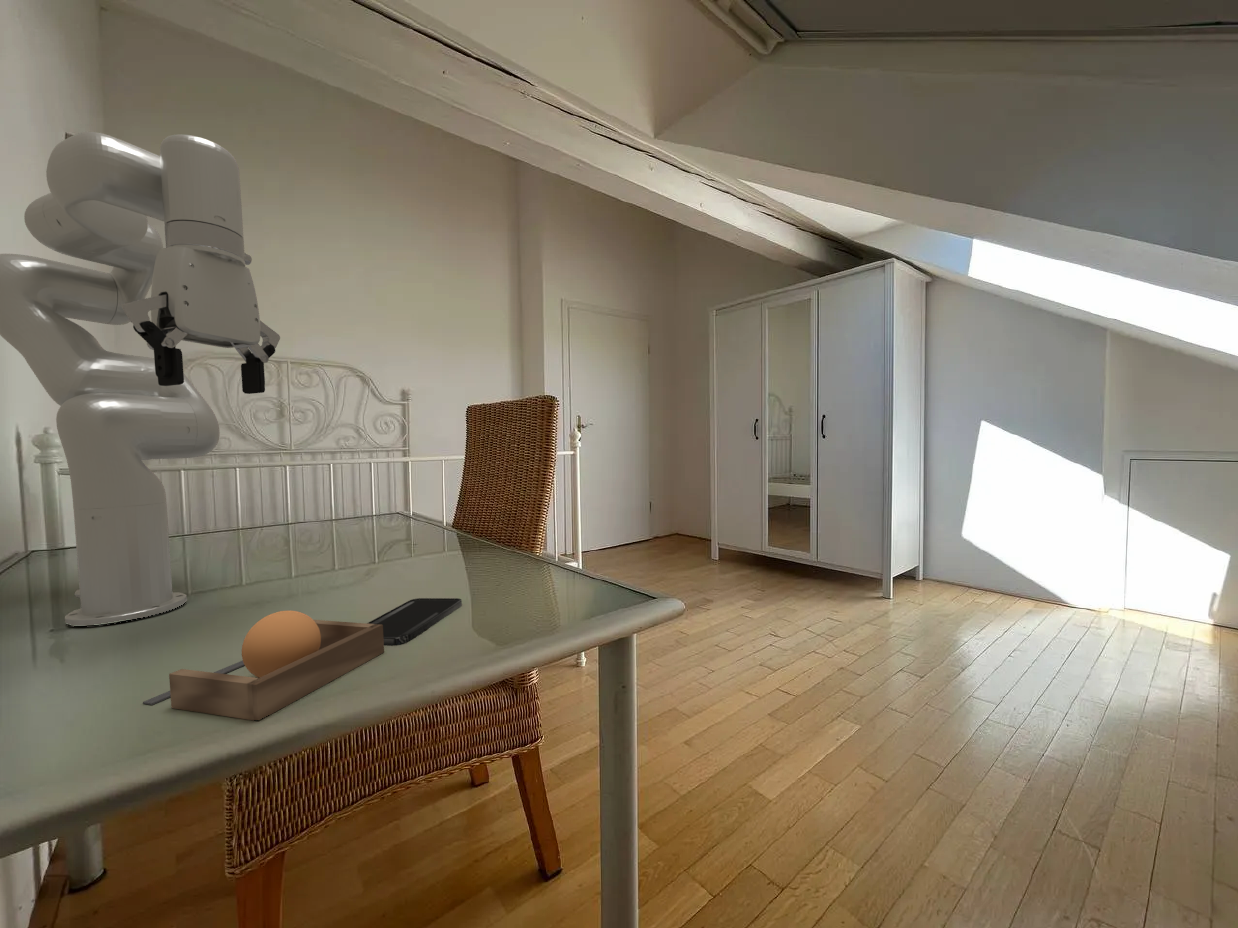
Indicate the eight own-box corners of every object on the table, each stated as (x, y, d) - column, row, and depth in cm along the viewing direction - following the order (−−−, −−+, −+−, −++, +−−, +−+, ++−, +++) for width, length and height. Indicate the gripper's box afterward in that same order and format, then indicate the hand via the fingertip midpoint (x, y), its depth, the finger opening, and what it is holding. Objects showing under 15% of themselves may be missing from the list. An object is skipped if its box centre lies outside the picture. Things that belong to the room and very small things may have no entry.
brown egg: (227, 689, 47) (221, 622, 46) (289, 658, 53) (284, 599, 53) (280, 697, 45) (274, 628, 45) (338, 664, 51) (333, 603, 51)
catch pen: (171, 707, 44) (169, 673, 44) (311, 645, 57) (309, 619, 57) (258, 720, 41) (256, 684, 41) (384, 652, 54) (382, 624, 54)
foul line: (142, 703, 45) (142, 701, 45) (286, 643, 58) (286, 641, 58) (152, 705, 44) (152, 703, 44) (294, 643, 58) (294, 642, 58)
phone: (339, 637, 57) (413, 597, 72) (340, 647, 57) (414, 605, 72) (403, 639, 56) (465, 598, 71) (404, 648, 56) (465, 606, 71)
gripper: (252, 276, 71) (260, 397, 72) (96, 225, 54) (107, 383, 55) (293, 268, 69) (301, 393, 69) (144, 213, 52) (155, 378, 53)
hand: (215, 389), depth 62 cm, fingers open, 9 cm apart
